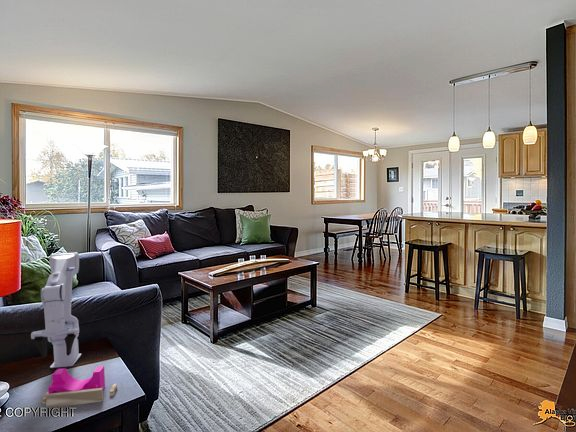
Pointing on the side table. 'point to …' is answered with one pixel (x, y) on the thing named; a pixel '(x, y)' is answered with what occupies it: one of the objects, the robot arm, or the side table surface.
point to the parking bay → (75, 397)
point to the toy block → (75, 381)
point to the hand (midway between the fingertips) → (57, 355)
